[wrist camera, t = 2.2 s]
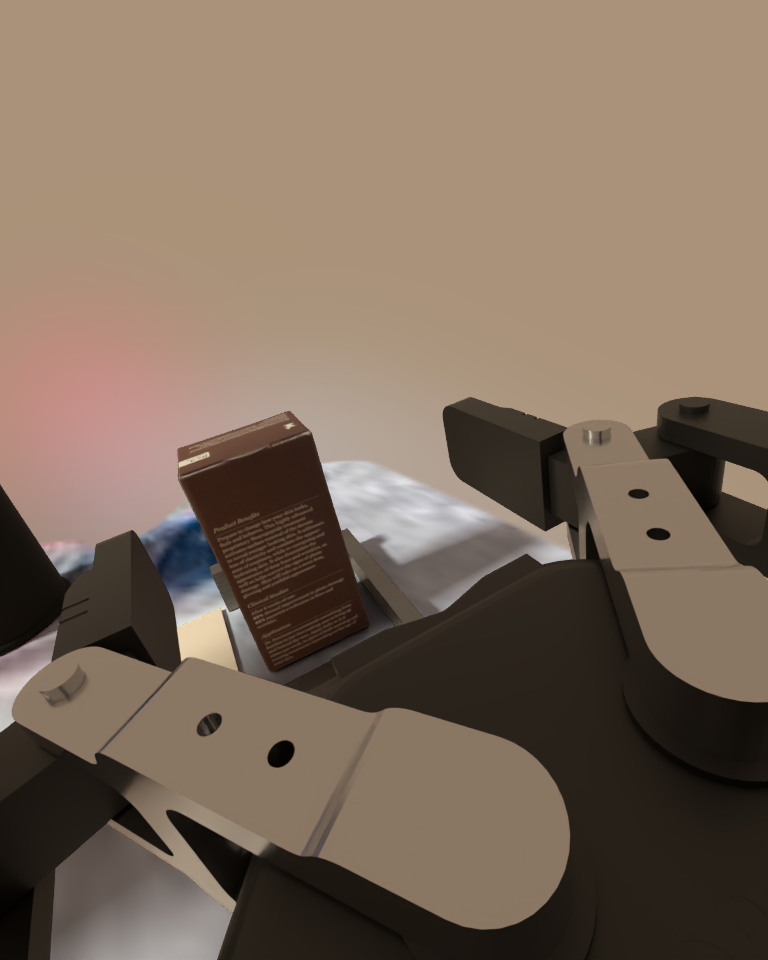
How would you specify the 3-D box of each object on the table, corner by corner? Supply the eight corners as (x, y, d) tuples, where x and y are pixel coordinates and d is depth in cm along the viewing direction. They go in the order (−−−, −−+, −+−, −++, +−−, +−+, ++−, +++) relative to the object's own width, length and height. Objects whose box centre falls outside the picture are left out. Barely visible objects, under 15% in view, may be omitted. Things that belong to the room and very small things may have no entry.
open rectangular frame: (267, 739, 22) (246, 696, 21) (226, 602, 31) (209, 566, 30) (434, 646, 25) (425, 602, 24) (352, 545, 34) (342, 510, 33)
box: (345, 583, 31) (291, 406, 25) (372, 629, 27) (315, 431, 21) (252, 624, 29) (172, 444, 23) (267, 678, 25) (175, 479, 20)
